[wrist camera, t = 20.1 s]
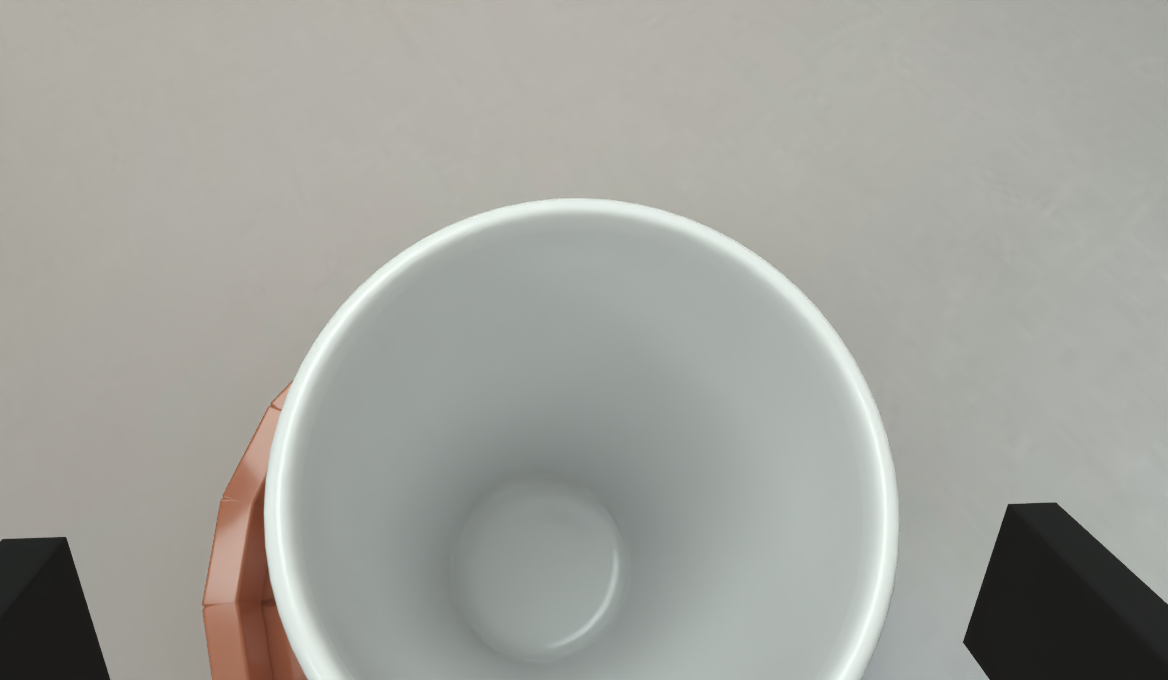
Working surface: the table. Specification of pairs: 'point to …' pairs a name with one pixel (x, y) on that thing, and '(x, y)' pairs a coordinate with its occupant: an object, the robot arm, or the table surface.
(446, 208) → the table surface
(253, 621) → the bowl
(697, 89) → the table surface
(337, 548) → the drinking glass
